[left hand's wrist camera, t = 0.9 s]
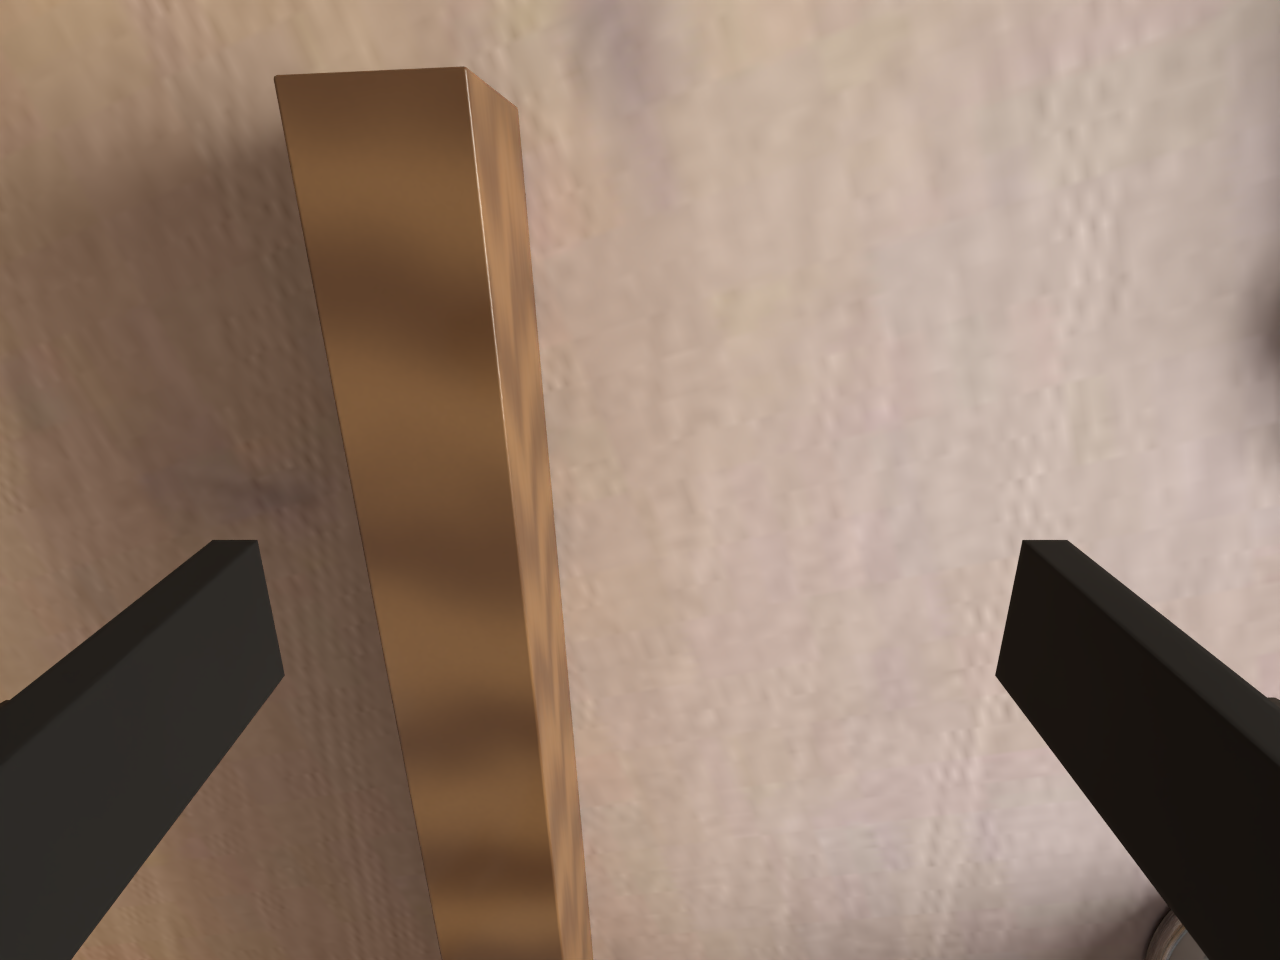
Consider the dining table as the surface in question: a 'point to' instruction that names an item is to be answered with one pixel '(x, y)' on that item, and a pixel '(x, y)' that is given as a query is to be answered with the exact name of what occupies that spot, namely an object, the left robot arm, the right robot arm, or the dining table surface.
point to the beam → (450, 483)
